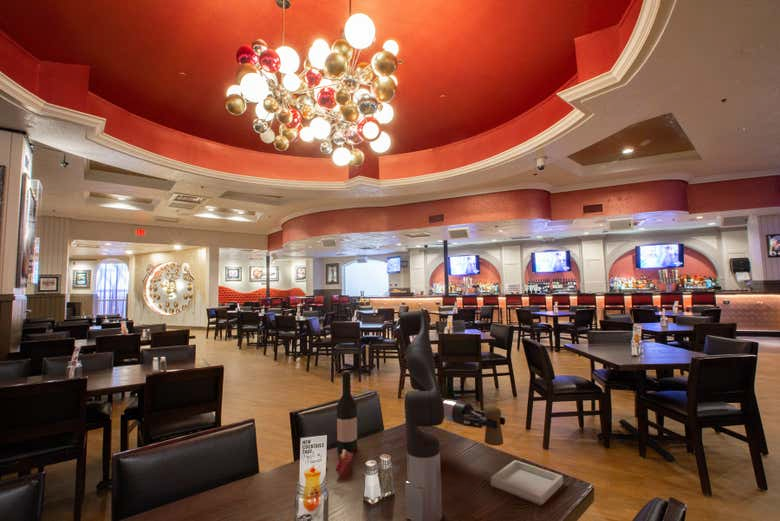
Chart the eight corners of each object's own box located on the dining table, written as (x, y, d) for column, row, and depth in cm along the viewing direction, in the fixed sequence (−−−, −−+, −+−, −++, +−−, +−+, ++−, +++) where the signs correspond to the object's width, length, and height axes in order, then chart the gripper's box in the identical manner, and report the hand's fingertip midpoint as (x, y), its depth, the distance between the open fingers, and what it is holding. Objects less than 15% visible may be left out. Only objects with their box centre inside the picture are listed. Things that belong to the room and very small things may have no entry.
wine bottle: (333, 452, 142) (332, 373, 145) (342, 443, 150) (341, 368, 153) (353, 454, 140) (351, 373, 142) (361, 445, 148) (359, 369, 150)
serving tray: (541, 505, 104) (540, 496, 105) (490, 485, 116) (490, 477, 116) (563, 484, 116) (562, 475, 116) (515, 467, 127) (514, 459, 127)
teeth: (351, 454, 123) (306, 456, 122) (352, 479, 122) (306, 481, 121) (354, 442, 133) (312, 444, 133) (354, 466, 132) (312, 467, 132)
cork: (504, 446, 118) (503, 410, 119) (485, 445, 119) (483, 410, 120) (502, 438, 124) (501, 405, 125) (483, 437, 125) (482, 404, 126)
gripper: (444, 405, 127) (489, 417, 115) (467, 396, 138) (511, 406, 125) (445, 428, 127) (490, 442, 115) (468, 417, 137) (512, 429, 125)
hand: (500, 423), depth 120 cm, fingers closed on cork, 4 cm apart
